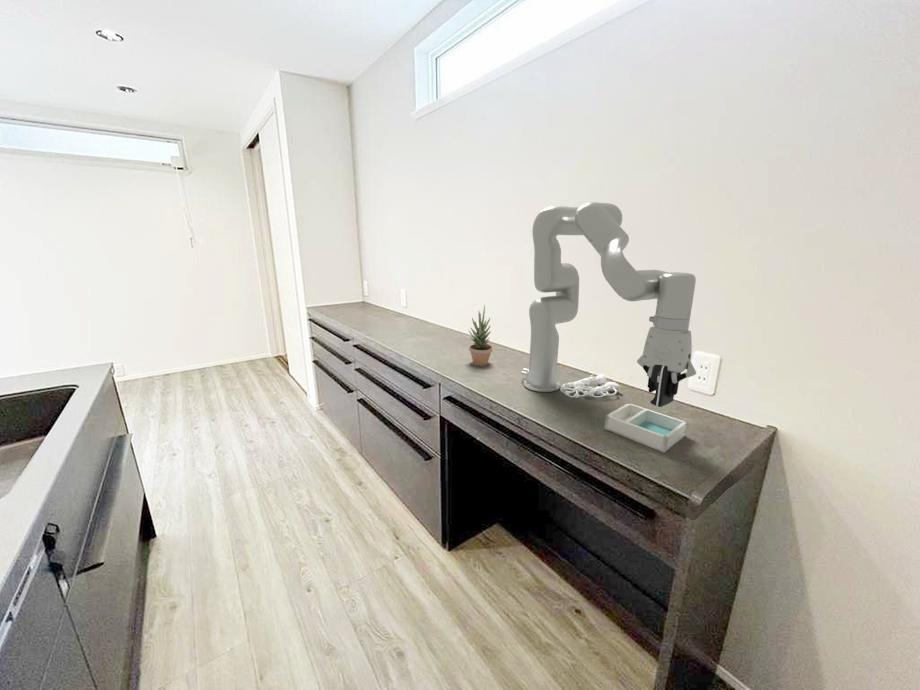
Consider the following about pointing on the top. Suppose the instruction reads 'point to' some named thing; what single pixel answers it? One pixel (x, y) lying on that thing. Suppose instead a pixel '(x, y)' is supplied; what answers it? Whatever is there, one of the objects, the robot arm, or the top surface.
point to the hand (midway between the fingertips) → (661, 392)
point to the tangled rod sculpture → (583, 384)
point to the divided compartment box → (646, 426)
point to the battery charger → (661, 385)
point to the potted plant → (480, 342)
